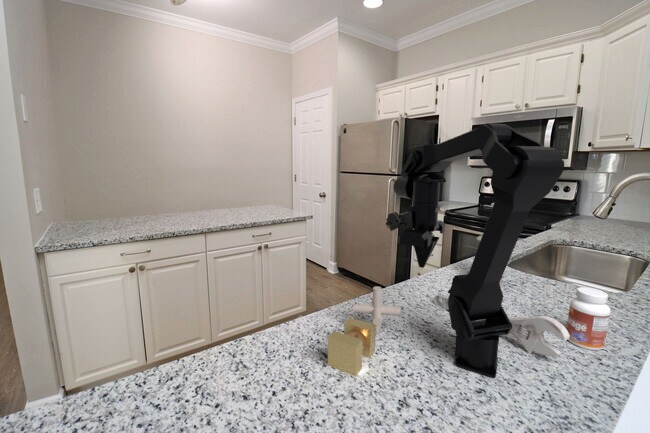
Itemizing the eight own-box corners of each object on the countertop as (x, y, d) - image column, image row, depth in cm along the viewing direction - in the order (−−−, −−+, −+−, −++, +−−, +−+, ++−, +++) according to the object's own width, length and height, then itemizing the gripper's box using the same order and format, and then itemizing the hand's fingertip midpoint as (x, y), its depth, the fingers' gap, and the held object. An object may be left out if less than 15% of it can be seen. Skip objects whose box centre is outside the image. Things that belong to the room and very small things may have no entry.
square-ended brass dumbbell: (349, 343, 62) (349, 317, 61) (374, 351, 59) (375, 325, 58) (327, 365, 55) (328, 337, 54) (355, 376, 52) (356, 346, 51)
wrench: (439, 313, 81) (570, 366, 54) (434, 315, 80) (564, 369, 53) (438, 283, 81) (570, 322, 54) (433, 284, 80) (564, 325, 53)
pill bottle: (557, 334, 66) (564, 285, 64) (586, 334, 66) (594, 285, 64) (581, 351, 60) (589, 298, 58) (613, 351, 60) (622, 298, 58)
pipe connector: (401, 346, 61) (404, 299, 59) (351, 342, 62) (352, 296, 61) (397, 322, 71) (398, 281, 69) (353, 319, 72) (354, 278, 70)
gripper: (403, 196, 82) (401, 252, 84) (376, 203, 66) (374, 272, 69) (447, 198, 76) (443, 259, 79) (429, 207, 60) (424, 282, 63)
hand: (421, 267), depth 72 cm, fingers closed
